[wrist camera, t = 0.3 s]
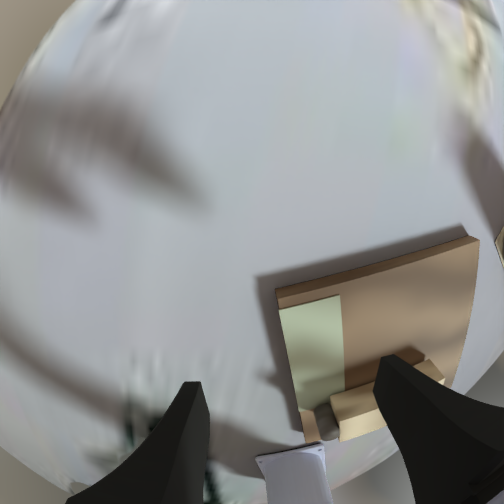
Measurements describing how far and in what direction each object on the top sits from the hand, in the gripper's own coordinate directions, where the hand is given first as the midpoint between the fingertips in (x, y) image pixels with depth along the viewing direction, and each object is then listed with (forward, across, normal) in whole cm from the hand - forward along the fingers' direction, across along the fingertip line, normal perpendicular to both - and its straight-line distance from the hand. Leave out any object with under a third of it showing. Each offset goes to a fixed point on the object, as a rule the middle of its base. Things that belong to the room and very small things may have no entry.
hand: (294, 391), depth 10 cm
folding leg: (+8, -9, +11) cm, 16 cm away
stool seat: (+10, -11, +8) cm, 16 cm away
